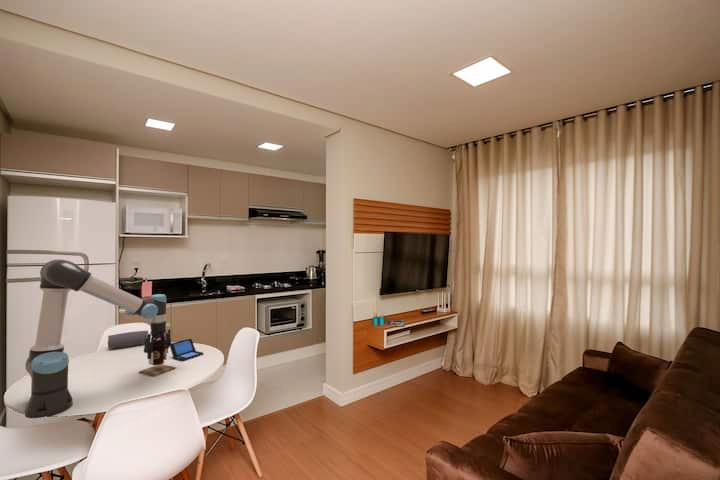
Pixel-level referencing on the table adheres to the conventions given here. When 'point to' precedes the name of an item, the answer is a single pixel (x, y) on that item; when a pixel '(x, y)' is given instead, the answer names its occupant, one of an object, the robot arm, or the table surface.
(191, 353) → the handheld game console
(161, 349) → the coffee cup
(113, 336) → the bluetooth speaker
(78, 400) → the table surface
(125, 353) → the table surface
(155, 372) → the walnut board
